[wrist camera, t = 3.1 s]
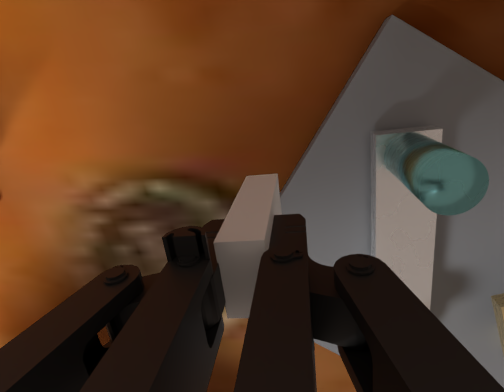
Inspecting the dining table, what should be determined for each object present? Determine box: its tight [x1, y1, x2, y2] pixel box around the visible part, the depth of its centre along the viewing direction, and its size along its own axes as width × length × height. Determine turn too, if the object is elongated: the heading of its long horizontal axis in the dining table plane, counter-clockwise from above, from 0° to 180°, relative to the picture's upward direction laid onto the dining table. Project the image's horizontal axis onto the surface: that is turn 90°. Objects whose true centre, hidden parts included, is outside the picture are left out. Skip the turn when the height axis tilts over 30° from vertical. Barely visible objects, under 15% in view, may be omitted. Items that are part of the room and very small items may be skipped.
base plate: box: [280, 15, 504, 388], centre depth 26 cm, size 25×29×2 cm
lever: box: [371, 125, 489, 310], centre depth 21 cm, size 19×5×8 cm, turn 7°
